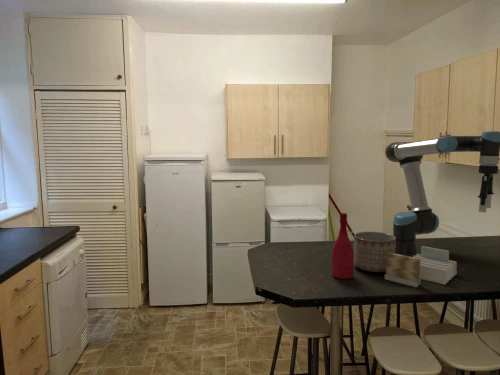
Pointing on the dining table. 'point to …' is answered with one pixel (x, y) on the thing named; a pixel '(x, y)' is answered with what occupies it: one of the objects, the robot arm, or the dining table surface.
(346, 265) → the wine bottle
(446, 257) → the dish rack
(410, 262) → the oak board
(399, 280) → the board stand
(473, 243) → the dining table surface
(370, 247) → the planter
